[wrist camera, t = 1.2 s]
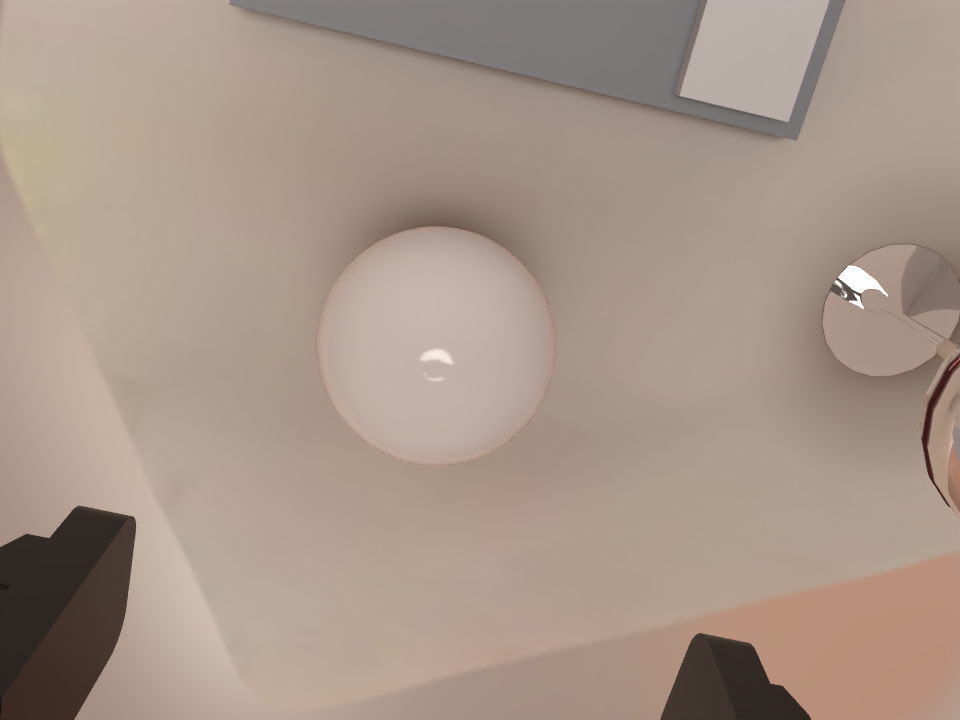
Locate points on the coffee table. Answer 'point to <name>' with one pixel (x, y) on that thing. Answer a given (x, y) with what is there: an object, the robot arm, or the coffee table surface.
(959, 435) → the wineglass
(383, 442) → the lightbulb
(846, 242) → the coffee table surface
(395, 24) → the socket board
